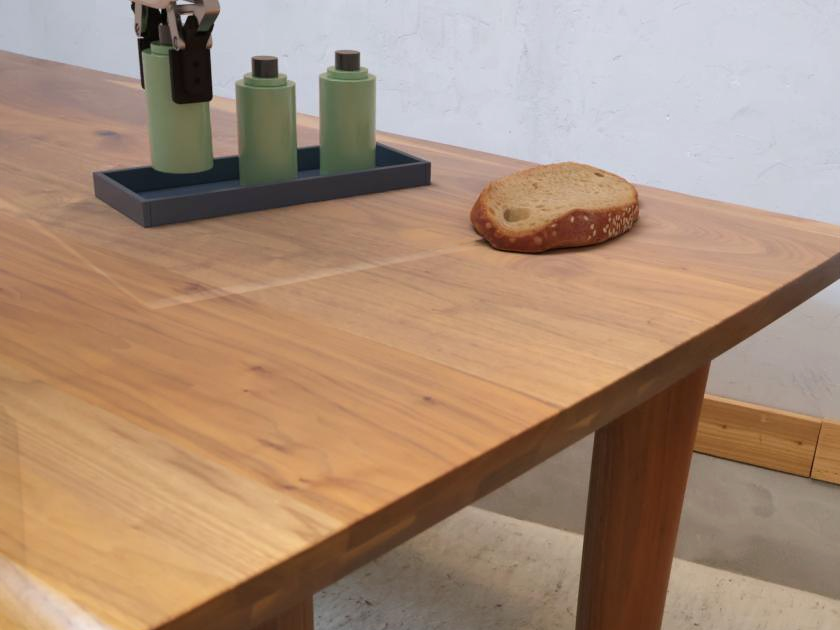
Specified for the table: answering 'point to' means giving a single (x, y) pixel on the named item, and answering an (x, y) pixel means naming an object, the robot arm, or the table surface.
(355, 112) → the bottle far
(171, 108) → the bottle loose
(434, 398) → the table surface
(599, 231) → the slice of bread
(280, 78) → the bottle mid
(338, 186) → the tray
